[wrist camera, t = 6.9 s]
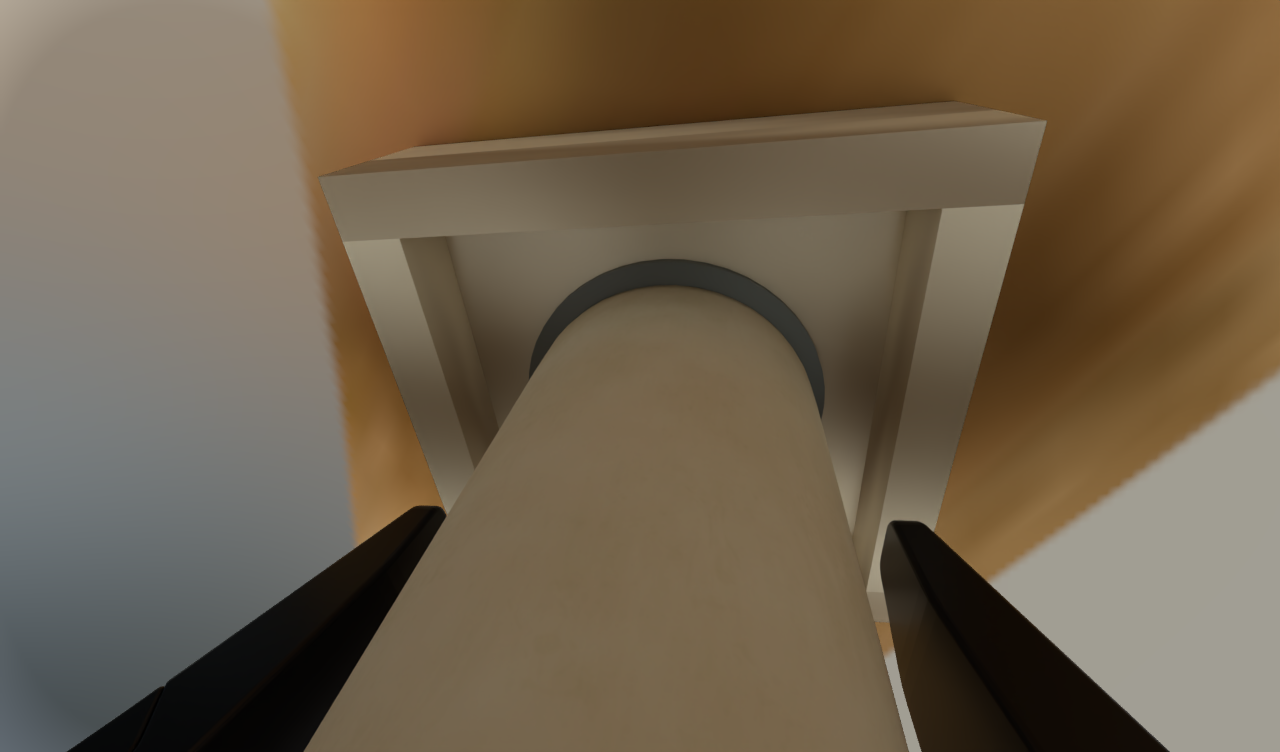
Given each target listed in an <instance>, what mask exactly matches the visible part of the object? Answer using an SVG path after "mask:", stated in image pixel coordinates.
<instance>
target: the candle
mask: <svg viewBox="0 0 1280 752" xmlns="http://www.w3.org/2000/svg"><path fill="white" fill-rule="evenodd" d="M304 752H909V751H908V747H907V743H906V739H905V735H904V732H903V728H902V724H901V720H900V717H899V713H898V709H897V705H896V702H895V698H894V694H893V690H892V686H891V683H890V679H889V675H888V671H887V668H886V664H885V660H884V656H883V652H882V649H881V645H880V641H879V637H878V633H877V630H876V626H875V622H874V618H873V615H872V611H871V607H870V603H869V599H868V596H867V592H866V588H865V584H864V581H863V577H862V573H861V569H860V565H859V562H858V558H857V554H856V550H855V547H854V543H853V539H852V535H851V531H850V528H849V524H848V520H847V516H846V513H845V509H844V505H843V501H842V497H841V494H840V490H839V486H838V482H837V479H836V475H835V471H834V467H833V463H832V460H831V456H830V452H829V448H828V445H827V441H826V437H825V433H824V430H823V426H822V422H821V418H820V414H819V411H818V407H817V404H816V400H815V397H814V394H813V391H812V387H811V384H810V381H809V379H808V376H807V373H806V371H805V368H804V366H803V364H802V363H801V361H800V359H799V358H798V356H797V354H796V352H795V351H794V349H793V348H792V346H791V345H790V344H789V342H788V341H787V340H786V339H785V337H784V336H783V335H782V334H781V332H780V331H779V330H778V329H777V328H776V327H775V326H773V325H772V324H771V323H770V322H769V321H768V320H767V319H766V318H764V317H763V316H762V315H760V314H759V313H757V312H756V311H755V310H753V309H752V308H750V307H748V306H746V305H745V304H743V303H741V302H739V301H737V300H735V299H733V298H730V297H728V296H725V295H722V294H720V293H717V292H714V291H709V290H705V289H701V288H697V287H689V286H680V285H656V286H649V287H642V288H636V289H632V290H629V291H625V292H621V293H618V294H616V295H614V296H611V297H609V298H607V299H604V300H602V301H600V302H599V303H597V304H595V305H594V306H592V307H590V308H589V309H587V310H586V311H585V312H583V313H582V314H581V315H580V316H579V317H577V318H576V319H575V320H574V321H572V322H571V323H570V324H569V325H568V326H567V327H566V328H565V329H564V330H563V331H562V333H561V334H560V335H559V336H558V337H557V338H556V340H555V341H554V343H553V344H552V346H551V347H550V349H549V350H548V352H547V353H546V355H545V356H544V358H543V359H542V361H541V363H540V364H539V366H538V367H537V369H536V370H535V372H534V373H533V375H532V377H531V378H530V380H529V382H528V383H527V385H526V386H525V388H524V390H523V391H522V393H521V395H520V396H519V398H518V400H517V401H516V403H515V405H514V406H513V408H512V410H511V411H510V413H509V414H508V416H507V418H506V419H505V421H504V423H503V424H502V426H501V428H500V429H499V431H498V433H497V434H496V436H495V437H494V439H493V441H492V442H491V444H490V446H489V447H488V449H487V451H486V452H485V454H484V456H483V457H482V459H481V461H480V462H479V464H478V465H477V467H476V469H475V470H474V472H473V474H472V475H471V477H470V479H469V480H468V482H467V484H466V485H465V487H464V489H463V490H462V492H461V493H460V495H459V497H458V498H457V500H456V502H455V503H454V505H453V507H452V508H451V510H450V512H449V513H448V515H447V517H446V518H445V520H444V521H443V523H442V525H441V526H440V528H439V530H438V531H437V533H436V535H435V536H434V538H433V540H432V541H431V543H430V545H429V546H428V548H427V549H426V551H425V553H424V554H423V556H422V558H421V559H420V561H419V563H418V564H417V566H416V568H415V569H414V571H413V573H412V574H411V576H410V577H409V579H408V581H407V582H406V584H405V586H404V587H403V589H402V591H401V592H400V594H399V596H398V597H397V599H396V600H395V602H394V604H393V605H392V607H391V609H390V610H389V612H388V614H387V615H386V617H385V619H384V620H383V622H382V624H381V625H380V627H379V628H378V630H377V632H376V633H375V635H374V637H373V638H372V640H371V642H370V643H369V645H368V647H367V648H366V650H365V652H364V653H363V655H362V656H361V658H360V660H359V661H358V663H357V665H356V666H355V668H354V670H353V671H352V673H351V675H350V676H349V678H348V680H347V681H346V683H345V684H344V686H343V688H342V689H341V691H340V693H339V694H338V696H337V698H336V699H335V701H334V703H333V704H332V706H331V708H330V709H329V711H328V712H327V714H326V716H325V717H324V719H323V721H322V722H321V724H320V726H319V727H318V729H317V731H316V732H315V734H314V735H313V737H312V739H311V740H310V742H309V744H308V745H307V747H306V749H305V750H304Z"/></svg>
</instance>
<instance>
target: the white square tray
mask: <svg viewBox="0 0 1280 752" xmlns="http://www.w3.org/2000/svg"><path fill="white" fill-rule="evenodd" d="M1046 123H1047V120H1042V119H1037V118H1033V117H1028V116H1023V115H1019V114H1014V113H1009V112H1005V111H1000V110H995V109H991V108H986V107H981V106H977V105H972V104H967V103H962V102H958V101H949V102H937V103H925V104H913V105H902V106H890V107H878V108H866V109H854V110H843V111H831V112H819V113H807V114H795V115H783V116H772V117H760V118H748V119H736V120H724V121H713V122H701V123H689V124H677V125H665V126H653V127H642V128H630V129H618V130H606V131H594V132H583V133H571V134H559V135H547V136H535V137H523V138H512V139H500V140H488V141H476V142H464V143H452V144H441V145H429V146H417V147H412V148H409V149H405V150H402V151H399V152H396V153H393V154H390V155H386V156H383V157H380V158H377V159H374V160H370V161H367V162H364V163H361V164H358V165H354V166H351V167H348V168H345V169H342V170H338V171H335V172H332V173H329V174H326V175H323V176H319V177H318V179H319V182H320V184H321V187H322V189H323V192H324V195H325V197H326V200H327V202H328V205H329V208H330V210H331V213H332V215H333V218H334V221H335V223H336V226H337V229H338V231H339V234H340V236H341V239H342V242H343V244H344V247H345V249H346V252H347V255H348V257H349V260H350V262H351V265H352V268H353V270H354V273H355V275H356V278H357V281H358V283H359V286H360V289H361V291H362V294H363V296H364V299H365V302H366V304H367V307H368V309H369V312H370V315H371V317H372V320H373V322H374V325H375V328H376V330H377V333H378V335H379V338H380V341H381V343H382V346H383V349H384V351H385V354H386V356H387V359H388V362H389V364H390V367H391V369H392V372H393V375H394V377H395V380H396V382H397V385H398V388H399V390H400V393H401V396H402V398H403V401H404V403H405V406H406V409H407V411H408V414H409V416H410V419H411V422H412V424H413V427H414V429H415V432H416V435H417V437H418V440H419V442H420V445H421V448H422V450H423V453H424V456H425V458H426V461H427V463H428V466H429V469H430V471H431V474H432V476H433V479H434V482H435V484H436V487H437V489H438V492H439V495H440V497H441V500H442V502H443V505H444V508H445V510H446V513H447V515H448V513H449V512H450V510H451V508H452V507H453V505H454V503H455V502H456V500H457V498H458V497H459V495H460V493H461V492H462V490H463V489H464V487H465V485H466V484H467V482H468V480H469V479H470V477H471V475H472V474H473V472H474V470H475V469H476V467H477V465H478V464H479V462H480V461H481V459H482V457H483V456H484V454H485V452H486V451H487V449H488V447H489V446H490V444H491V442H492V441H493V439H494V437H495V436H496V434H497V433H498V431H499V429H500V428H501V426H502V424H503V423H504V421H505V419H506V418H507V416H508V414H509V413H510V411H511V410H512V408H513V406H514V405H515V403H516V401H517V400H518V398H519V396H520V395H521V393H522V391H523V390H524V388H525V386H526V385H527V383H528V382H529V380H530V378H531V377H532V375H533V373H534V372H535V370H536V369H537V367H538V366H539V364H540V363H541V361H542V359H543V358H544V356H545V355H546V353H547V352H548V350H549V349H550V347H551V346H552V344H553V343H554V341H555V340H556V338H557V337H558V336H559V335H560V334H561V333H562V331H563V330H564V329H565V328H566V327H567V326H568V325H569V324H570V323H571V322H572V321H574V320H575V319H576V318H577V317H579V316H580V315H581V314H582V313H583V312H585V311H586V310H587V309H589V308H590V307H592V306H594V305H595V304H597V303H599V302H600V301H602V300H604V299H607V298H609V297H611V296H614V295H616V294H618V293H621V292H625V291H629V290H632V289H636V288H642V287H649V286H656V285H680V286H689V287H697V288H701V289H705V290H709V291H714V292H717V293H720V294H722V295H725V296H728V297H730V298H733V299H735V300H737V301H739V302H741V303H743V304H745V305H746V306H748V307H750V308H752V309H753V310H755V311H756V312H757V313H759V314H760V315H762V316H763V317H764V318H766V319H767V320H768V321H769V322H770V323H771V324H772V325H773V326H775V327H776V328H777V329H778V330H779V331H780V332H781V334H782V335H783V336H784V337H785V339H786V340H787V341H788V342H789V344H790V345H791V346H792V348H793V349H794V351H795V352H796V354H797V356H798V358H799V359H800V361H801V363H802V364H803V366H804V368H805V371H806V373H807V376H808V379H809V381H810V384H811V387H812V391H813V394H814V397H815V400H816V404H817V407H818V411H819V414H820V418H821V422H822V426H823V430H824V433H825V437H826V441H827V445H828V448H829V452H830V456H831V460H832V463H833V467H834V471H835V475H836V479H837V482H838V486H839V490H840V494H841V497H842V501H843V505H844V509H845V513H846V516H847V520H848V524H849V528H850V531H851V535H852V539H853V543H854V547H855V550H856V554H857V558H858V562H859V565H860V569H861V573H862V577H863V581H864V584H865V588H866V592H867V596H868V599H869V603H870V607H871V611H872V615H873V618H874V622H889V617H888V612H887V606H886V601H885V596H884V591H883V586H882V580H881V575H880V558H881V553H882V548H883V544H884V539H885V534H886V529H887V526H888V524H889V523H890V522H891V521H893V520H907V521H920V522H922V523H924V524H925V525H927V526H928V527H929V528H930V529H931V530H932V531H933V532H934V529H935V526H936V522H937V518H938V515H939V511H940V508H941V504H942V500H943V497H944V493H945V489H946V486H947V482H948V479H949V475H950V471H951V468H952V464H953V460H954V457H955V453H956V450H957V446H958V442H959V439H960V435H961V431H962V428H963V424H964V421H965V417H966V413H967V410H968V406H969V402H970V399H971V395H972V392H973V388H974V384H975V381H976V377H977V373H978V370H979V366H980V363H981V359H982V355H983V352H984V348H985V344H986V341H987V337H988V334H989V330H990V326H991V323H992V319H993V315H994V312H995V308H996V305H997V301H998V297H999V294H1000V290H1001V286H1002V283H1003V279H1004V276H1005V272H1006V268H1007V265H1008V261H1009V257H1010V254H1011V250H1012V246H1013V243H1014V239H1015V236H1016V232H1017V228H1018V225H1019V221H1020V217H1021V214H1022V210H1023V207H1024V203H1025V199H1026V196H1027V192H1028V188H1029V185H1030V181H1031V178H1032V174H1033V170H1034V167H1035V163H1036V159H1037V156H1038V152H1039V149H1040V145H1041V141H1042V138H1043V134H1044V130H1045V127H1046Z"/></svg>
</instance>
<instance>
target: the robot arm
mask: <svg viewBox="0 0 1280 752" xmlns="http://www.w3.org/2000/svg"><path fill="white" fill-rule="evenodd" d="M446 517H447V516H446V514H445V512H444V510H443V509H442V508H441V507H438V506H415V507H413V508H411V509H410V510H408V511H407V512H405V513H404V514H403V515H401V516H400V517H398V518H397V519H396V520H394V521H393V522H391V523H390V524H388V525H387V526H386V527H384V528H383V529H381V530H380V531H379V532H377V533H376V534H374V535H373V536H372V537H370V538H369V539H367V540H366V541H365V542H363V543H362V544H360V545H359V546H358V547H356V548H355V549H353V550H352V551H350V552H349V553H348V554H346V555H345V556H344V557H342V558H341V559H339V560H338V561H336V562H335V563H334V564H332V565H331V566H329V567H328V568H327V569H325V570H324V571H322V572H321V573H320V574H318V575H317V576H315V577H314V578H312V579H311V580H310V581H308V582H307V583H305V584H304V585H303V586H301V587H300V588H298V589H297V590H296V591H294V592H293V593H291V594H290V595H289V596H287V597H286V598H284V599H283V600H282V601H280V602H279V603H277V604H276V605H274V606H273V607H272V608H270V609H269V610H267V611H266V612H265V613H263V614H262V615H260V616H259V617H258V618H256V619H255V620H253V621H252V622H250V623H249V624H248V625H246V626H245V627H244V628H242V629H241V630H240V631H238V632H236V633H235V634H234V635H232V636H231V637H229V638H228V639H227V640H225V641H224V642H222V643H221V644H220V645H218V646H217V647H215V648H214V649H212V650H211V651H210V652H208V653H207V654H205V655H204V656H203V657H201V658H200V659H199V660H197V661H195V662H194V663H193V664H191V665H190V666H188V667H187V668H186V669H184V670H183V671H181V672H180V673H179V674H177V675H176V676H174V677H173V678H172V679H170V680H169V681H168V682H167V683H166V685H165V687H164V686H162V687H159V688H157V689H156V690H154V691H153V692H152V693H150V694H149V695H147V696H146V697H145V698H143V699H142V700H140V701H139V702H138V703H136V704H135V705H133V706H132V707H131V708H129V709H128V710H126V711H125V712H123V713H122V714H121V715H119V716H118V717H116V718H115V719H113V720H112V721H110V722H109V723H108V724H106V725H105V726H104V727H102V728H100V729H99V730H97V731H96V732H95V733H93V734H92V735H90V736H89V737H87V738H86V739H84V740H83V741H81V742H80V743H79V744H77V745H76V746H75V747H73V748H71V749H70V750H68V751H67V752H304V750H305V749H306V747H307V745H308V744H309V742H310V740H311V739H312V737H313V735H314V734H315V732H316V731H317V729H318V727H319V726H320V724H321V722H322V721H323V719H324V717H325V716H326V714H327V712H328V711H329V709H330V708H331V706H332V704H333V703H334V701H335V699H336V698H337V696H338V694H339V693H340V691H341V689H342V688H343V686H344V684H345V683H346V681H347V680H348V678H349V676H350V675H351V673H352V671H353V670H354V668H355V666H356V665H357V663H358V661H359V660H360V658H361V656H362V655H363V653H364V652H365V650H366V648H367V647H368V645H369V643H370V642H371V640H372V638H373V637H374V635H375V633H376V632H377V630H378V628H379V627H380V625H381V624H382V622H383V620H384V619H385V617H386V615H387V614H388V612H389V610H390V609H391V607H392V605H393V604H394V602H395V600H396V599H397V597H398V596H399V594H400V592H401V591H402V589H403V587H404V586H405V584H406V582H407V581H408V579H409V577H410V576H411V574H412V573H413V571H414V569H415V568H416V566H417V564H418V563H419V561H420V559H421V558H422V556H423V554H424V553H425V551H426V549H427V548H428V546H429V545H430V543H431V541H432V540H433V538H434V536H435V535H436V533H437V531H438V530H439V528H440V526H441V525H442V523H443V521H444V520H445V518H446ZM880 575H881V580H882V586H883V591H884V596H885V601H886V606H887V612H888V617H889V622H890V627H891V633H892V638H893V643H894V648H895V653H896V658H897V664H898V669H899V673H900V678H901V683H902V688H903V691H904V694H905V698H906V702H907V706H908V708H909V712H910V715H911V719H912V722H913V725H914V728H915V732H916V735H917V738H918V741H919V745H920V748H921V751H922V752H1170V751H1168V750H1167V749H1166V748H1165V747H1164V746H1163V745H1162V744H1161V743H1160V742H1159V741H1158V740H1157V739H1156V738H1155V737H1153V736H1152V735H1151V734H1150V733H1149V732H1148V731H1147V730H1146V729H1145V728H1144V727H1143V726H1142V725H1141V724H1139V723H1138V722H1137V721H1136V720H1135V719H1134V718H1133V717H1132V716H1131V715H1130V714H1129V713H1128V712H1127V711H1125V710H1124V709H1123V708H1122V707H1121V706H1120V705H1119V704H1118V703H1117V702H1116V701H1115V700H1114V699H1112V697H1110V696H1109V695H1108V694H1107V693H1106V692H1105V691H1104V690H1103V689H1102V688H1101V687H1100V686H1098V684H1096V683H1095V682H1094V681H1093V680H1092V679H1091V678H1090V677H1089V676H1088V675H1087V674H1086V673H1085V672H1083V671H1082V670H1081V669H1080V668H1079V667H1078V666H1077V665H1076V664H1075V663H1074V662H1073V661H1072V660H1071V659H1070V658H1069V657H1067V656H1066V655H1065V654H1064V653H1063V652H1062V651H1061V650H1060V649H1059V648H1058V647H1057V646H1055V644H1053V643H1052V642H1051V641H1050V640H1049V639H1048V638H1047V637H1046V636H1045V635H1044V634H1043V633H1042V632H1041V631H1039V630H1038V629H1037V628H1036V627H1035V626H1034V625H1033V624H1032V623H1031V622H1030V621H1029V620H1028V619H1027V618H1025V617H1024V616H1023V615H1022V614H1021V613H1020V612H1019V611H1018V610H1017V609H1016V608H1015V607H1014V606H1012V605H1011V604H1010V603H1009V602H1008V601H1007V600H1006V599H1005V598H1004V597H1003V596H1002V595H1001V594H1000V593H999V592H997V591H996V590H995V589H994V588H993V587H992V586H991V585H990V584H989V583H988V582H987V581H986V580H985V579H984V578H983V577H981V576H980V575H979V574H978V573H977V572H976V571H975V570H974V569H973V568H972V567H971V566H970V565H969V564H967V563H966V562H965V561H964V560H963V559H962V558H961V557H960V556H959V555H958V554H957V553H956V552H955V551H953V550H952V549H951V548H950V547H949V546H948V545H947V544H946V543H945V542H944V541H943V540H942V539H941V538H940V537H938V536H937V535H936V534H935V533H934V532H933V531H932V530H931V529H930V528H929V527H928V526H927V525H925V524H924V523H922V522H920V521H907V520H893V521H891V522H890V523H889V524H888V526H887V529H886V534H885V539H884V544H883V548H882V553H881V558H880Z"/></svg>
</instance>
